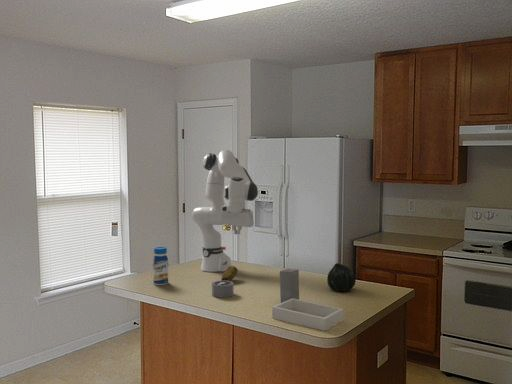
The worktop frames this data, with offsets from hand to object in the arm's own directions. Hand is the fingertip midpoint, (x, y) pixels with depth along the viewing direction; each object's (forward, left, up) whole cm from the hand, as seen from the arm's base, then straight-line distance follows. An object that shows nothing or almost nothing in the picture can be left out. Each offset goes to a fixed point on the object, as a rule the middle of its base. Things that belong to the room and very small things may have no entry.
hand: (237, 234), depth 260 cm
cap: (+14, +2, -28) cm, 32 cm away
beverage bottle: (+18, -40, -29) cm, 53 cm away
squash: (-30, +46, -29) cm, 62 cm away
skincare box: (+4, +36, -29) cm, 47 cm away
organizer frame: (+20, +56, -29) cm, 66 cm away
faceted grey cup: (+14, +2, -29) cm, 32 cm away
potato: (-8, -13, -29) cm, 33 cm away
